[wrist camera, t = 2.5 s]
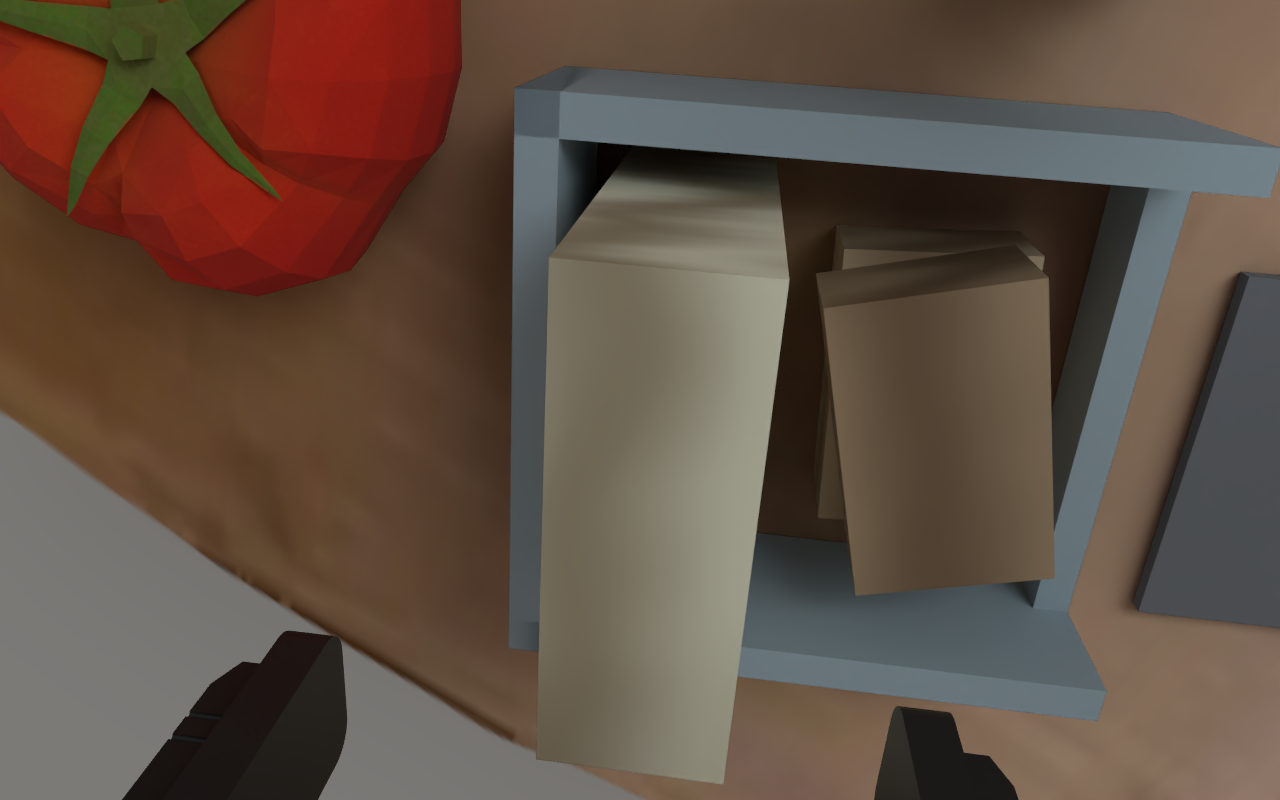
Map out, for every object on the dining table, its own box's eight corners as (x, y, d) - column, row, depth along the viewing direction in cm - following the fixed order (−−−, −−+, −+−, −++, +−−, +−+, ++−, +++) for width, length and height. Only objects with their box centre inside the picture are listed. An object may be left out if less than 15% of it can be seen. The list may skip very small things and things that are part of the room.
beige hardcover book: (776, 157, 27) (789, 279, 16) (735, 502, 31) (723, 784, 20) (633, 146, 27) (548, 258, 16) (612, 488, 31) (535, 759, 20)
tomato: (2, -212, 25) (-335, -299, 17) (461, -278, 23) (314, -407, 16) (143, 260, 30) (-71, 356, 22) (531, 234, 28) (446, 329, 21)
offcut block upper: (1015, 244, 24) (1048, 277, 22) (1024, 518, 27) (1054, 578, 24) (816, 273, 25) (823, 308, 22) (845, 536, 28) (855, 595, 25)
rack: (1169, 112, 25) (1285, 149, 20) (1037, 591, 31) (1097, 721, 26) (564, 66, 26) (514, 87, 21) (550, 535, 32) (508, 648, 27)
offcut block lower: (1015, 229, 27) (1044, 256, 24) (973, 480, 30) (994, 529, 27) (835, 222, 28) (844, 249, 25) (812, 470, 31) (817, 518, 28)
